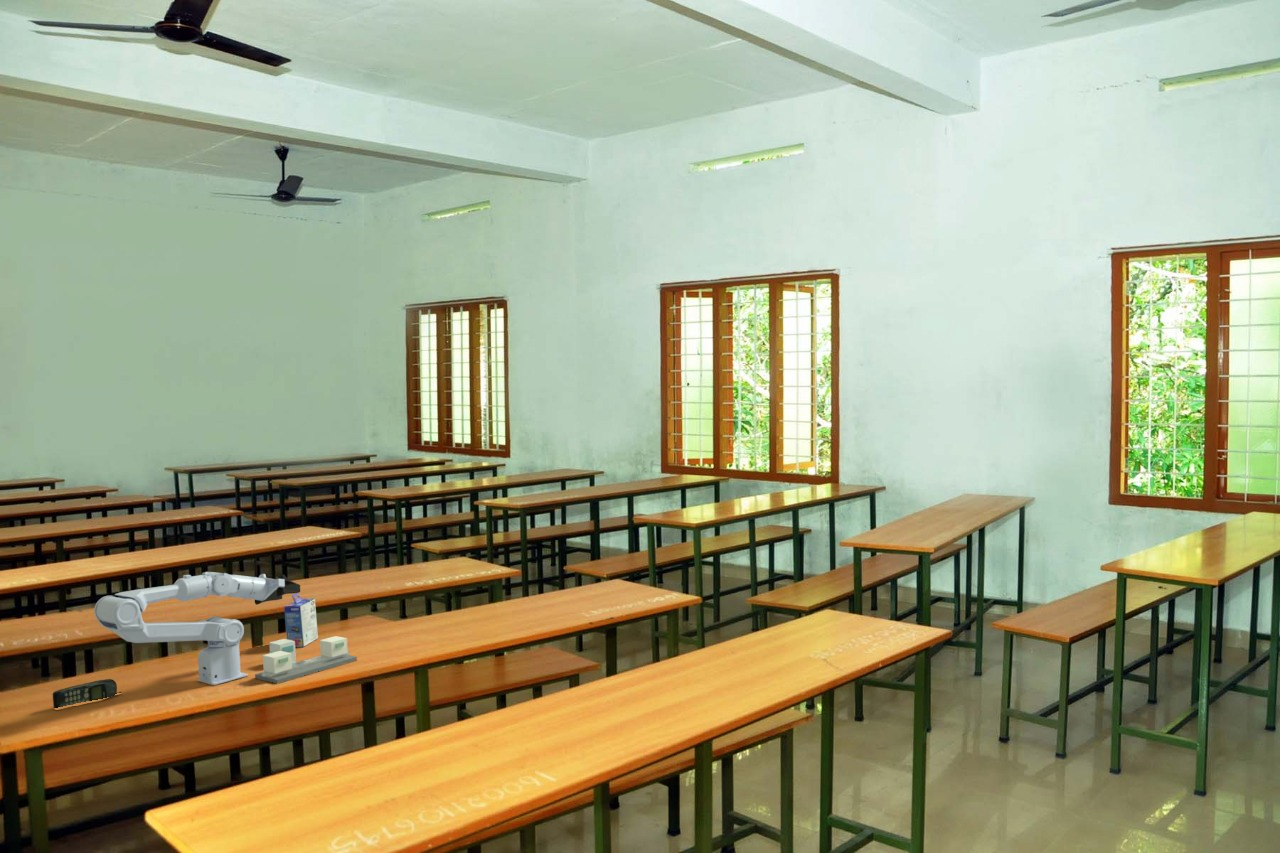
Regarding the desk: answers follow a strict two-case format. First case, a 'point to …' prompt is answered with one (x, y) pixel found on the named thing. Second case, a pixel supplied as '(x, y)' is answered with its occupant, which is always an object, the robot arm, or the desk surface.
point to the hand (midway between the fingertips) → (290, 592)
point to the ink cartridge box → (301, 621)
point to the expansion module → (284, 647)
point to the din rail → (304, 664)
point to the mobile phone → (84, 692)
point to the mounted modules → (284, 659)
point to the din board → (308, 670)
